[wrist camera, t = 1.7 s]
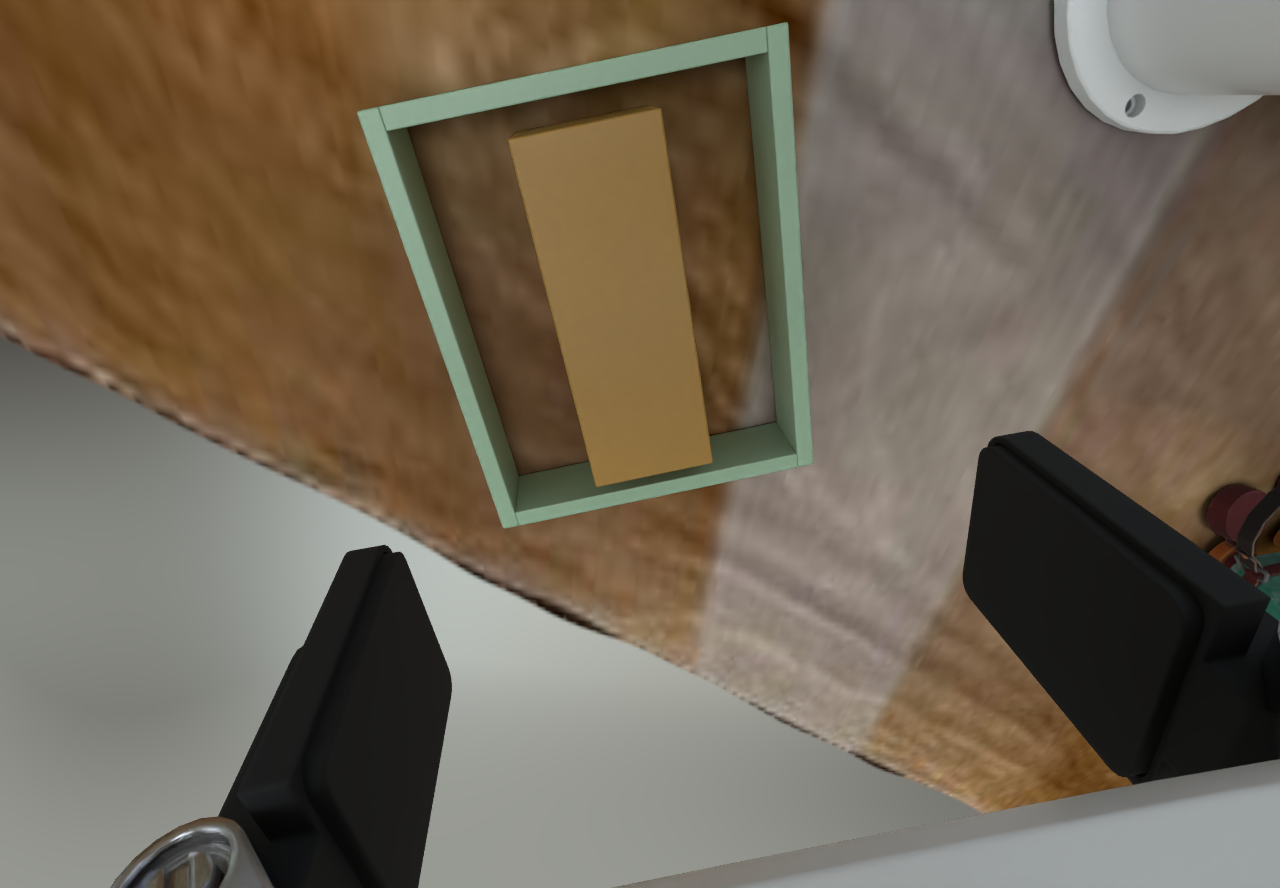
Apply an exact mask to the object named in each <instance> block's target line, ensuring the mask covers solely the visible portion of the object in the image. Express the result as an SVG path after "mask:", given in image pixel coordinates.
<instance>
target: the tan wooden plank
mask: <svg viewBox="0 0 1280 888" xmlns="http://www.w3.org/2000/svg"><path fill="white" fill-rule="evenodd" d="M508 145H509V149H510V153H511V156H512V160H513V164H514V168H515V172H516V176H517V180H518V184H519V188H520V192H521V196H522V200H523V203H524V207H525V211H526V215H527V219H528V223H529V227H530V231H531V235H532V239H533V243H534V247H535V251H536V254H537V258H538V262H539V266H540V270H541V274H542V278H543V282H544V286H545V290H546V294H547V298H548V301H549V305H550V309H551V313H552V317H553V321H554V325H555V329H556V333H557V337H558V341H559V345H560V348H561V352H562V356H563V360H564V364H565V368H566V372H567V376H568V380H569V384H570V388H571V392H572V395H573V399H574V403H575V407H576V411H577V415H578V419H579V423H580V427H581V431H582V435H583V439H584V442H585V446H586V450H587V454H588V458H589V462H590V466H591V470H592V474H593V478H594V482H595V485H596V487H600V486H604V485H609V484H614V483H619V482H624V481H628V480H633V479H638V478H643V477H647V476H652V475H657V474H662V473H667V472H671V471H676V470H681V469H686V468H690V467H695V466H700V465H705V464H709V463H712V462H713V458H712V451H711V444H710V437H709V431H708V424H707V417H706V410H705V403H704V396H703V389H702V383H701V376H700V369H699V362H698V355H697V348H696V341H695V335H694V328H693V321H692V314H691V307H690V300H689V294H688V287H687V280H686V273H685V266H684V259H683V252H682V246H681V239H680V232H679V225H678V218H677V211H676V204H675V198H674V191H673V184H672V177H671V170H670V163H669V157H668V150H667V143H666V136H665V129H664V122H663V115H662V110H661V108H657V107H653V106H648V105H645V106H640V107H635V108H631V109H626V110H621V111H616V112H611V113H607V114H602V115H597V116H592V117H587V118H582V119H578V120H573V121H568V122H563V123H558V124H554V125H549V126H544V127H539V128H534V129H529V130H525V131H520V132H516V133H515V134H514V135H512V136H511V137H510V139H509V140H508Z"/></svg>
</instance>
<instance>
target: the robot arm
mask: <svg viewBox="0 0 1280 888" xmlns="http://www.w3.org/2000/svg"><path fill="white" fill-rule="evenodd" d="M1054 35H1055V41H1056V46H1057V51H1058V56H1059V62H1060V65H1061V67H1062V70H1063V72H1064V75H1065V77H1066V79H1067V82H1068V84H1069V86H1070V89H1071V90H1072V91H1073V93H1074V94H1075V95H1076V97H1077V98H1078V99H1079V101H1080V102H1081V103H1082V105H1083V106H1084V107H1085V108H1086V109H1087V110H1088V111H1090V112H1091V113H1092V114H1093V115H1095V116H1096V117H1097V118H1099V119H1100V120H1101V121H1102V122H1104V123H1107V124H1109V125H1112V126H1114V127H1117V128H1119V129H1122V130H1124V131H1132V132H1140V133H1147V134H1177V133H1182V132H1187V131H1191V130H1196V129H1201V128H1204V127H1206V126H1209V125H1211V124H1214V123H1216V122H1219V121H1221V120H1223V119H1226V118H1228V117H1230V116H1232V115H1234V114H1235V113H1237V112H1239V111H1240V110H1242V109H1244V108H1245V107H1247V106H1249V105H1250V104H1252V103H1254V102H1255V101H1257V100H1258V99H1260V98H1261V97H1262V96H1263V95H1280V0H1054ZM963 584H964V587H965V590H966V592H967V595H968V596H969V598H970V599H971V600H972V602H973V603H974V604H975V605H976V606H977V608H978V609H979V610H980V611H981V612H982V614H983V615H984V616H985V617H986V619H987V620H988V621H989V622H990V623H991V625H992V626H993V627H994V628H995V630H996V631H997V632H998V633H999V634H1000V636H1001V637H1002V638H1003V639H1004V640H1005V642H1006V643H1007V644H1008V645H1009V647H1010V648H1011V649H1012V650H1013V651H1014V653H1015V654H1016V655H1017V656H1018V658H1019V659H1020V660H1021V661H1022V662H1023V664H1024V665H1025V666H1026V667H1027V668H1028V670H1029V671H1030V672H1031V673H1032V675H1033V676H1034V677H1035V678H1036V679H1037V681H1038V682H1039V683H1040V684H1041V686H1042V687H1043V688H1044V689H1045V690H1046V692H1047V693H1048V694H1049V695H1050V696H1051V698H1052V699H1053V700H1054V701H1055V703H1056V704H1057V705H1058V706H1059V707H1060V709H1061V710H1062V711H1063V712H1064V714H1065V715H1066V716H1067V717H1068V718H1069V720H1070V721H1071V722H1072V723H1073V724H1074V726H1075V727H1076V728H1077V729H1078V731H1079V732H1080V733H1081V734H1082V735H1083V737H1084V738H1085V739H1086V740H1087V742H1088V743H1089V744H1090V745H1091V746H1092V748H1093V749H1094V750H1095V751H1096V752H1097V754H1098V755H1099V756H1100V757H1101V759H1102V760H1103V761H1104V762H1105V763H1106V765H1107V766H1108V767H1109V768H1110V769H1111V770H1112V771H1113V772H1114V773H1116V774H1117V775H1119V776H1122V777H1127V778H1128V779H1129V780H1130V781H1131V782H1132V784H1133V785H1130V786H1125V787H1120V788H1114V789H1109V790H1104V791H1099V792H1094V793H1088V794H1083V795H1078V796H1073V797H1068V798H1062V799H1057V800H1052V801H1047V802H1042V803H1036V804H1031V805H1026V806H1021V807H1016V808H1010V809H1005V810H1000V811H995V812H990V813H984V814H979V815H974V816H969V817H964V818H958V819H954V820H948V821H943V822H939V823H934V824H929V825H923V826H918V827H913V828H908V829H903V830H898V831H893V832H888V833H883V834H877V835H873V836H868V837H863V838H857V839H852V840H847V841H842V842H837V843H832V844H827V845H822V846H817V847H812V848H807V849H802V850H797V851H792V852H787V853H782V854H777V855H772V856H767V857H762V858H757V859H752V860H747V861H742V862H737V863H731V864H727V865H722V866H717V867H712V868H707V869H702V870H697V871H692V872H687V873H683V874H677V875H673V876H668V877H663V878H658V879H653V880H648V881H643V882H638V883H633V884H628V885H624V886H619V887H614V888H1280V621H1278V620H1277V619H1276V618H1274V617H1273V616H1272V615H1270V614H1269V613H1267V612H1266V609H1267V606H1268V604H1269V602H1270V600H1271V597H1269V596H1268V595H1266V594H1265V593H1264V592H1262V591H1261V590H1259V589H1258V588H1257V587H1255V586H1254V585H1252V584H1251V583H1249V582H1248V581H1247V580H1245V579H1244V578H1242V577H1241V576H1240V575H1238V574H1237V573H1235V572H1234V571H1232V570H1231V569H1230V568H1228V567H1227V566H1225V565H1224V564H1222V563H1221V562H1220V561H1218V560H1217V559H1215V558H1214V557H1213V556H1211V555H1210V554H1208V553H1207V552H1205V551H1204V550H1203V549H1201V548H1200V547H1198V546H1197V545H1195V544H1194V543H1193V542H1191V541H1190V540H1188V539H1187V538H1186V537H1184V536H1183V535H1181V534H1180V533H1178V532H1177V531H1176V530H1174V529H1173V528H1171V527H1170V526H1168V525H1167V524H1166V523H1164V522H1163V521H1161V520H1160V519H1159V518H1157V517H1156V516H1154V515H1153V514H1151V513H1150V512H1149V511H1147V510H1146V509H1144V508H1143V507H1142V506H1140V505H1139V504H1137V503H1136V502H1134V501H1133V500H1132V499H1130V498H1129V497H1127V496H1126V495H1124V494H1123V493H1122V492H1120V491H1119V490H1117V489H1116V488H1115V487H1113V486H1112V485H1110V484H1109V483H1107V482H1106V481H1105V480H1103V479H1102V478H1100V477H1099V476H1097V475H1096V474H1095V473H1093V472H1092V471H1090V470H1089V469H1088V468H1086V467H1085V466H1083V465H1082V464H1080V463H1079V462H1078V461H1076V460H1075V459H1073V458H1072V457H1070V456H1069V455H1068V454H1066V453H1065V452H1063V451H1062V450H1061V449H1059V448H1058V447H1056V446H1055V445H1053V444H1052V443H1051V442H1049V441H1048V440H1046V439H1045V438H1043V437H1042V436H1041V435H1039V434H1038V433H1036V432H1033V431H1025V432H1019V433H1014V434H1008V435H1003V436H997V437H994V438H993V439H991V441H990V442H989V444H988V447H986V448H984V449H982V450H981V452H980V454H979V459H978V466H977V474H976V481H975V488H974V496H973V503H972V510H971V518H970V525H969V532H968V540H967V547H966V554H965V562H964V569H963ZM451 692H452V682H451V676H450V671H449V668H448V666H447V663H446V660H445V658H444V655H443V653H442V650H441V648H440V645H439V643H438V640H437V638H436V635H435V632H434V630H433V627H432V625H431V622H430V620H429V617H428V615H427V612H426V610H425V607H424V605H423V602H422V600H421V597H420V594H419V592H418V589H417V587H416V584H415V581H414V579H413V576H412V574H411V571H410V569H409V566H408V564H407V561H406V559H405V557H404V555H403V554H402V553H401V552H395V553H392V551H391V549H390V548H389V547H388V546H386V545H381V546H376V547H370V548H364V549H359V550H353V551H349V552H347V553H346V555H345V556H344V558H343V560H342V562H341V564H340V567H339V569H338V571H337V573H336V575H335V578H334V580H333V582H332V584H331V586H330V589H329V591H328V593H327V595H326V597H325V599H324V602H323V604H322V606H321V608H320V611H319V613H318V615H317V617H316V619H315V622H314V624H313V626H312V628H311V630H310V632H309V635H308V637H307V639H306V641H305V643H304V646H302V647H301V648H299V649H298V650H297V651H296V653H295V655H294V656H293V658H292V660H291V662H290V664H289V666H288V668H287V670H286V672H285V674H284V677H283V679H282V681H281V683H280V685H279V687H278V689H277V691H276V694H275V696H274V698H273V700H272V702H271V704H270V706H269V709H268V711H267V713H266V715H265V717H264V719H263V721H262V724H261V726H260V728H259V730H258V732H257V734H256V736H255V739H254V741H253V743H252V745H251V747H250V749H249V751H248V754H247V756H246V758H245V760H244V762H243V765H242V766H241V769H240V771H239V773H238V775H237V777H236V779H235V782H234V783H233V786H232V788H231V790H230V792H229V794H228V797H227V799H226V801H225V803H224V805H223V807H222V809H221V811H220V814H219V816H218V817H210V818H201V819H198V820H195V821H193V822H190V823H187V824H185V825H182V826H179V827H177V828H176V829H174V830H172V831H171V832H169V833H167V834H166V835H164V836H162V837H161V838H159V839H157V840H156V841H155V842H153V843H152V844H151V845H150V846H149V847H147V848H146V849H145V850H144V851H143V852H141V853H140V854H139V855H138V856H136V857H135V858H134V860H132V862H131V863H130V864H129V865H128V866H127V867H126V868H125V869H124V870H123V872H122V873H121V874H120V875H119V876H118V877H117V878H116V880H115V881H114V883H113V884H112V886H111V887H110V888H418V885H419V878H420V873H421V867H422V861H423V856H424V850H425V844H426V838H427V833H428V827H429V821H430V815H431V810H432V803H433V798H434V792H435V787H436V780H437V775H438V769H439V763H440V758H441V752H442V746H443V740H444V735H445V729H446V723H447V717H448V712H449V706H450V700H451Z"/></svg>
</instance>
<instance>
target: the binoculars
mask: <svg viewBox="0 0 1280 888" xmlns="http://www.w3.org/2000/svg"><path fill="white" fill-rule="evenodd" d="M1279 509H1280V478H1279V480H1278V482H1277V487H1276V488H1274V489H1273V490H1272V491H1270V492H1269V493H1268V494H1266V493H1264V492H1262V491H1260V490H1256V489H1253V488H1250V487H1247V486H1244V485H1239V484H1234V485H1230V486H1227V487H1225V488H1224V489H1222V490H1221V491H1220V492H1219V493H1217V495H1216V496H1215V497H1214V498H1213V500H1212V501H1211V503H1210V505H1209V508H1208V512H1207V522H1208V525H1209V527H1210V528H1211V530H1212V531H1213V532H1215V533H1216V534H1218V535H1220V536H1223V537H1225V541H1224V542H1222V543H1220V544H1219V545H1217V546H1216V547H1215V548H1213V549H1212V550H1211V551H1210V552H1209V553H1208V554H1210V555H1211V556H1213V557H1214V558H1215V559H1217V560H1218V561H1220V562H1221V563H1222V564H1224V565H1225V566H1227V567H1228V568H1230V569H1231V570H1232V571H1234V572H1235V573H1237V574H1238V575H1240V576H1241V577H1242V578H1244V579H1245V580H1247V581H1248V582H1249V583H1251V584H1252V585H1254V586H1255V587H1257V588H1258V589H1259V590H1261V591H1262V592H1264V593H1265V594H1266V595H1268V596H1269V597H1271V600H1270V602H1269V604H1268V606H1267V609H1266V612H1267V613H1269V614H1270V615H1272V616H1273V617H1274V618H1276V619H1277V620H1278V621H1280V553H1269V554H1264V555H1260V556H1257V554H1256V550H1255V548H1254V544H1255V541H1256V540H1257V538H1258V536H1259V535H1260V534H1261V533H1262V531H1263V530H1264V528H1265V526H1266V525H1267V523H1268V520H1269V519H1270V518H1271V517H1272V516H1273V515H1274V514H1275V513H1276V512H1277V511H1278V510H1279ZM1273 543H1274V545H1276V546H1277V547H1279V548H1280V529H1279V530H1278V532H1277V533H1276V535H1275V537H1274V540H1273Z"/></svg>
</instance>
